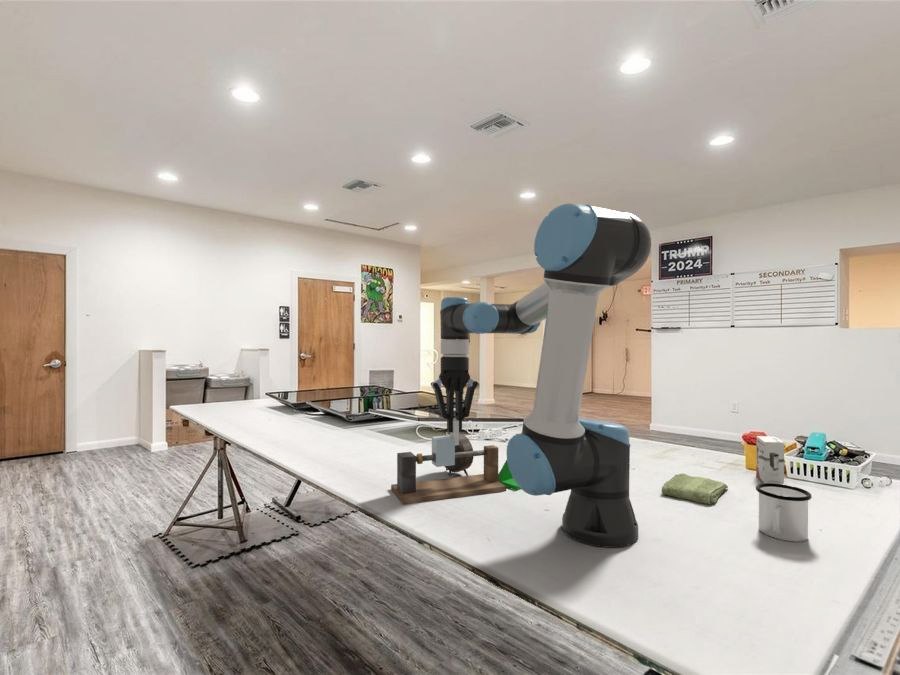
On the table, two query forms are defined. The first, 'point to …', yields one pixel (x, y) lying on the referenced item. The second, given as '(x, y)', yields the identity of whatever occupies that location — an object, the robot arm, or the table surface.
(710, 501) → the washcloth
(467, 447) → the alarm clock
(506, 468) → the bracket
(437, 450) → the light blue block
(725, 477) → the table surface
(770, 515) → the mug
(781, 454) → the ink box
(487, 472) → the wooden slider rail stand
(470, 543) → the table surface
